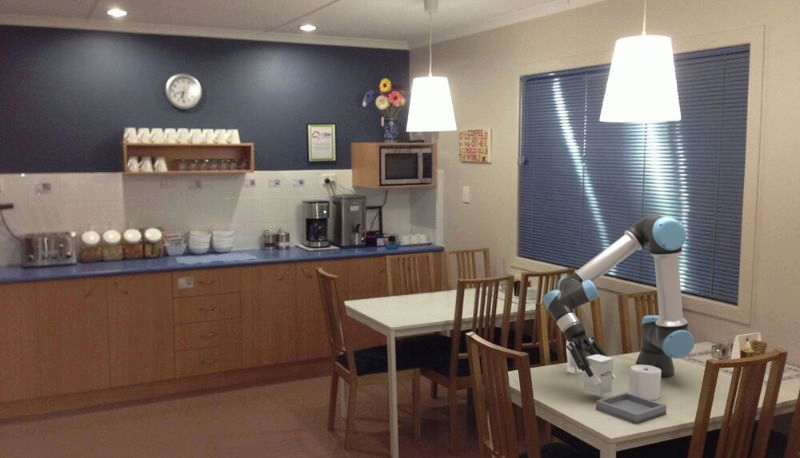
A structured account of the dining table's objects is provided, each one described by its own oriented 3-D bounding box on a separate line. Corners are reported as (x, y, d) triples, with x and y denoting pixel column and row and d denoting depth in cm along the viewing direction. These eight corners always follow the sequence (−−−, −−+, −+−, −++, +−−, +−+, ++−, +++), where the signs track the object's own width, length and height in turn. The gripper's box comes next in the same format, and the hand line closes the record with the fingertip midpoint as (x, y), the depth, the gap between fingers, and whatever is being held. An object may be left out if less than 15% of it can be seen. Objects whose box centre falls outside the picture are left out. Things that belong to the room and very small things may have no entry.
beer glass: (583, 375, 289) (584, 338, 288) (565, 373, 291) (566, 337, 289) (582, 369, 296) (584, 333, 295) (564, 368, 298) (566, 332, 296)
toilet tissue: (653, 390, 272) (655, 364, 271) (665, 402, 260) (667, 374, 259) (625, 390, 272) (626, 364, 271) (635, 401, 260) (637, 374, 259)
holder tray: (625, 400, 261) (626, 392, 260) (666, 413, 248) (666, 405, 247) (595, 409, 251) (596, 400, 251) (636, 423, 238) (636, 415, 238)
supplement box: (599, 396, 257) (600, 361, 255) (582, 390, 263) (583, 356, 261) (612, 392, 261) (613, 358, 260) (595, 386, 267) (596, 353, 266)
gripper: (583, 329, 278) (617, 381, 267) (547, 337, 266) (580, 392, 255) (595, 318, 273) (629, 371, 262) (558, 326, 261) (593, 381, 250)
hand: (605, 381), depth 258 cm, fingers closed on supplement box, 7 cm apart
